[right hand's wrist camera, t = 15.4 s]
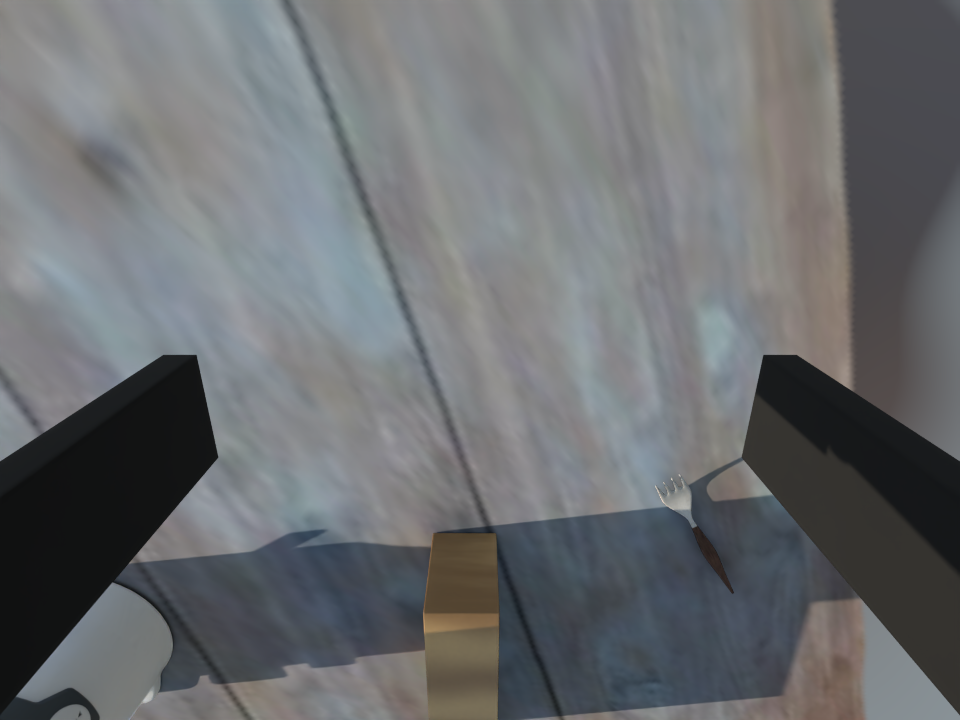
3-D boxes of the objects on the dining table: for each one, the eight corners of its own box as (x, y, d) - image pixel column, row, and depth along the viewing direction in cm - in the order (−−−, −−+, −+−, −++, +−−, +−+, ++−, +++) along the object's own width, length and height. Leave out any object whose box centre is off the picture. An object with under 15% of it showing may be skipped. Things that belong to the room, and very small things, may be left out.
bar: (433, 532, 48) (423, 613, 40) (496, 532, 48) (499, 613, 40) (440, 722, 58) (434, 820, 49) (493, 722, 58) (495, 820, 49)
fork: (717, 594, 51) (726, 611, 49) (646, 474, 46) (653, 487, 44) (743, 583, 50) (753, 600, 48) (674, 460, 45) (682, 473, 43)
